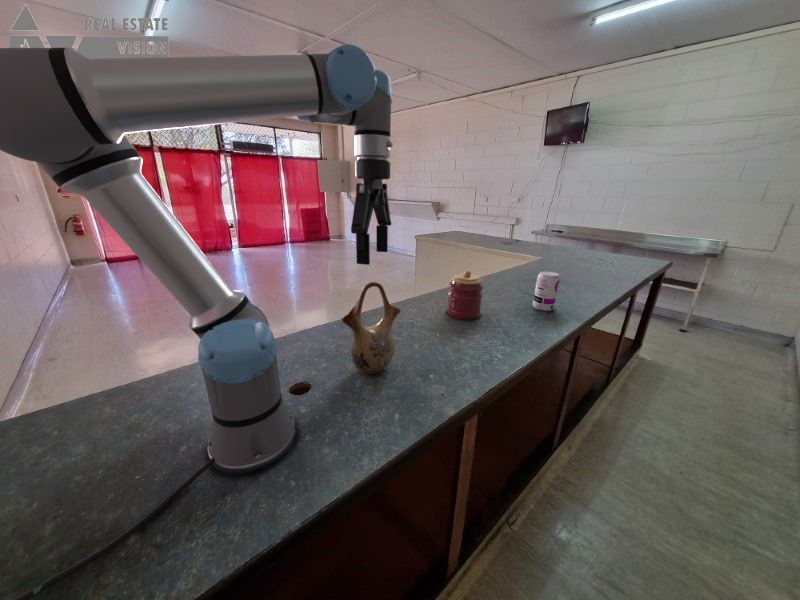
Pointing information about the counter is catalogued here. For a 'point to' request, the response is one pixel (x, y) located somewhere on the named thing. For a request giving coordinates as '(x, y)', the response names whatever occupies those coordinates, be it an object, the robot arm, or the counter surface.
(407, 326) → the counter surface
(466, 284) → the kitchen canister
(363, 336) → the ceramic vessel
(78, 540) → the counter surface
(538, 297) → the supplement can
